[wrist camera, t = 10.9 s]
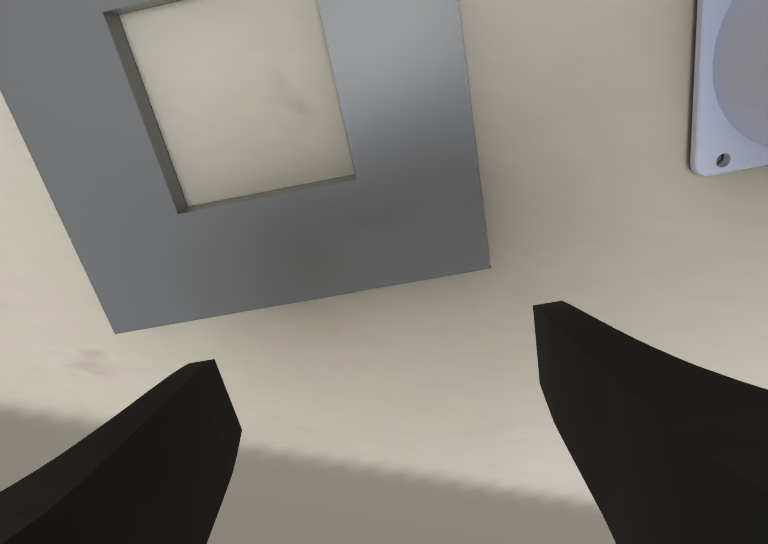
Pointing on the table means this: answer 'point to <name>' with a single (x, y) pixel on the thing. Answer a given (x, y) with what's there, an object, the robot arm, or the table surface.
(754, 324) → the table surface
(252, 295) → the pocket board
